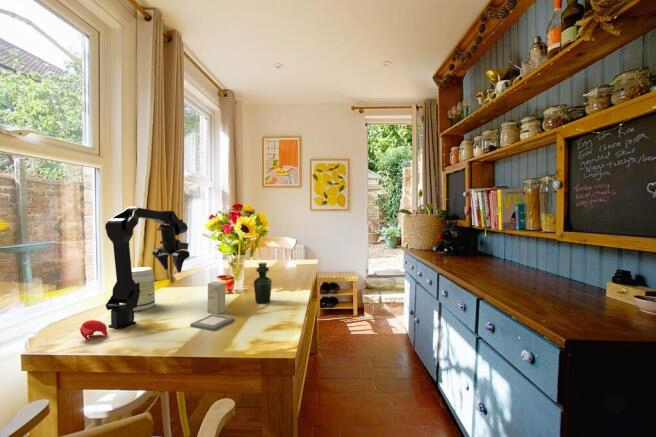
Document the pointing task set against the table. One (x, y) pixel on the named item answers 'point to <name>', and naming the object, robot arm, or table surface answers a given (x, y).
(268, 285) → the potion bottle
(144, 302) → the supplement tub
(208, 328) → the slate pad
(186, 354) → the table surface
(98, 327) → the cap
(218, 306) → the skincare box
